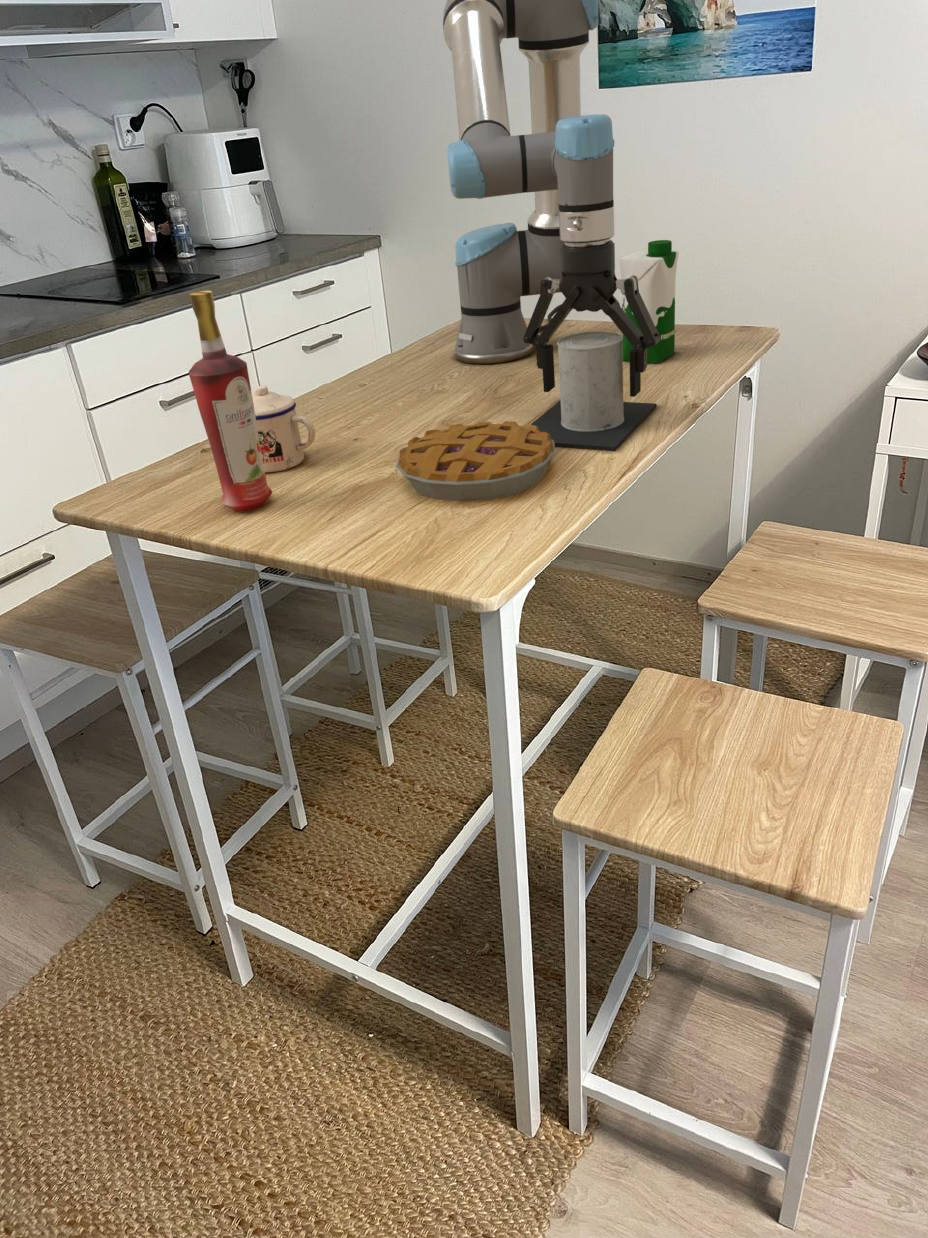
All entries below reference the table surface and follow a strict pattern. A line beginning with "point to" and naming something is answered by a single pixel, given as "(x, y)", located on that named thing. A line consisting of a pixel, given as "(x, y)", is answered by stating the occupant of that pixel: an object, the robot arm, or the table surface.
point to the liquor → (227, 413)
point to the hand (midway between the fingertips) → (591, 391)
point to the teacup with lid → (279, 430)
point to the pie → (476, 460)
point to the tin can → (591, 381)
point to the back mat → (594, 440)
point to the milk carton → (653, 294)
